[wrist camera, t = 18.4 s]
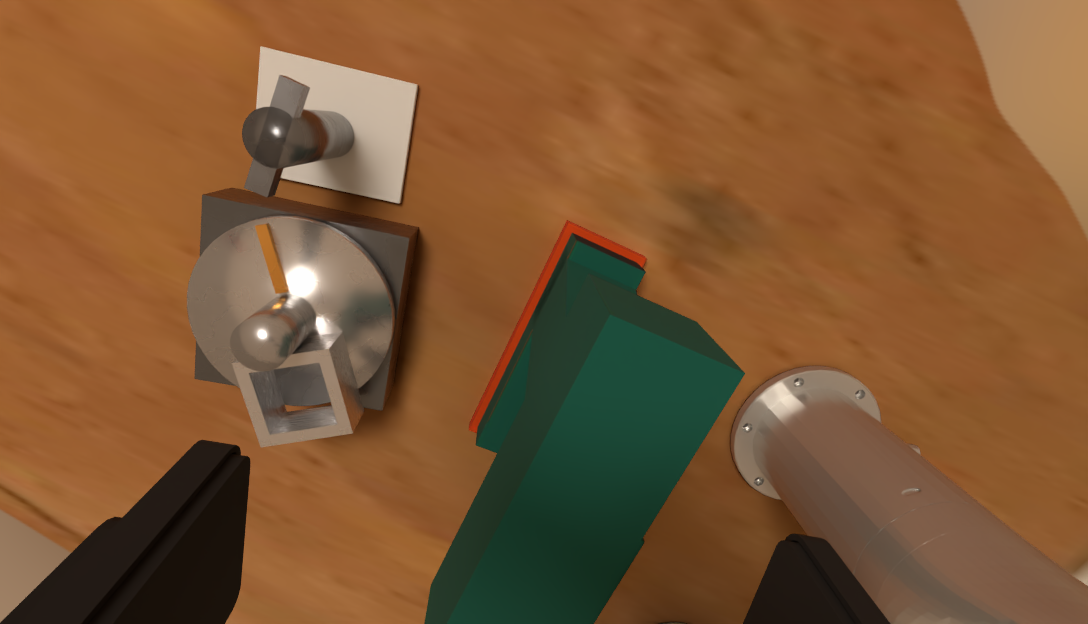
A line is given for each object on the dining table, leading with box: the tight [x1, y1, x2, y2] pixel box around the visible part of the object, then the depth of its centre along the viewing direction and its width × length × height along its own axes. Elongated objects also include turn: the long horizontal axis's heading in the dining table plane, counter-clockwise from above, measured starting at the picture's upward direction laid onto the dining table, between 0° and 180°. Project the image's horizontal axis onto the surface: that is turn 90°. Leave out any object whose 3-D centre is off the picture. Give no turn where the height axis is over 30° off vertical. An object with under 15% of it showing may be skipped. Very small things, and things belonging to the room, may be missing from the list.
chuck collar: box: [187, 216, 395, 447], centre depth 35 cm, size 13×14×6 cm
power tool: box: [425, 220, 745, 624], centre depth 37 cm, size 32×7×20 cm, turn 155°
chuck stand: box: [195, 188, 419, 411], centre depth 40 cm, size 13×13×4 cm
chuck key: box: [242, 75, 354, 198], centre depth 33 cm, size 3×6×10 cm, turn 155°
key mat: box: [256, 47, 418, 204], centre depth 38 cm, size 10×8×1 cm
